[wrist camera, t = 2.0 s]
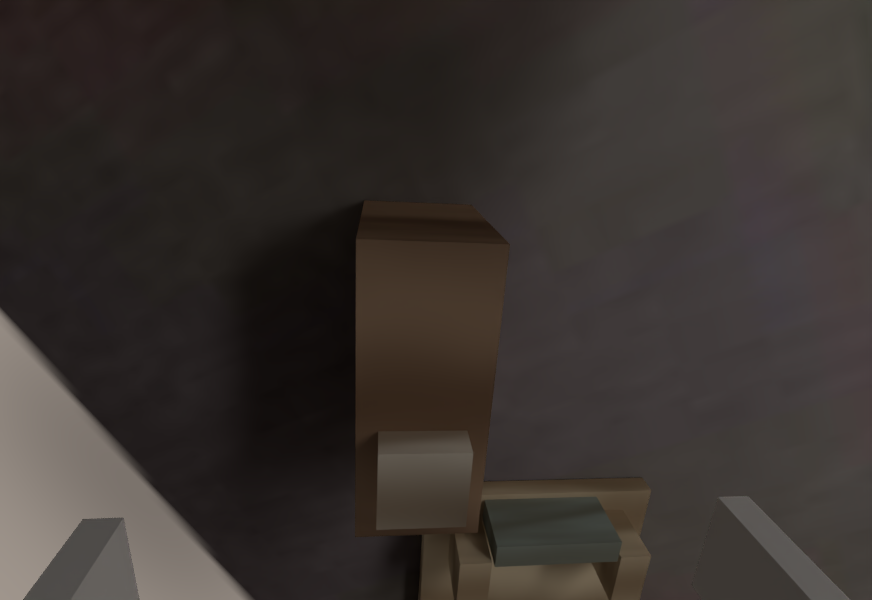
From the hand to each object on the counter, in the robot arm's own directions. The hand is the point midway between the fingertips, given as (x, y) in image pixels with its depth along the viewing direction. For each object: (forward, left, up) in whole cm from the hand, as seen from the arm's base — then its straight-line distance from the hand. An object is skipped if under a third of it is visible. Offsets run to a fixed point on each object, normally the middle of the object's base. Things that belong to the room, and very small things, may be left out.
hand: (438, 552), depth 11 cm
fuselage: (0, 0, -13) cm, 13 cm away
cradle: (+17, +7, -12) cm, 22 cm away
